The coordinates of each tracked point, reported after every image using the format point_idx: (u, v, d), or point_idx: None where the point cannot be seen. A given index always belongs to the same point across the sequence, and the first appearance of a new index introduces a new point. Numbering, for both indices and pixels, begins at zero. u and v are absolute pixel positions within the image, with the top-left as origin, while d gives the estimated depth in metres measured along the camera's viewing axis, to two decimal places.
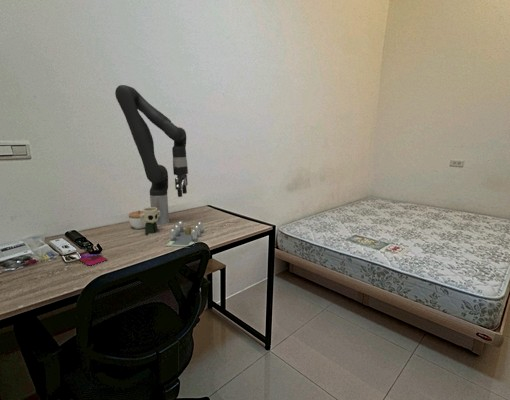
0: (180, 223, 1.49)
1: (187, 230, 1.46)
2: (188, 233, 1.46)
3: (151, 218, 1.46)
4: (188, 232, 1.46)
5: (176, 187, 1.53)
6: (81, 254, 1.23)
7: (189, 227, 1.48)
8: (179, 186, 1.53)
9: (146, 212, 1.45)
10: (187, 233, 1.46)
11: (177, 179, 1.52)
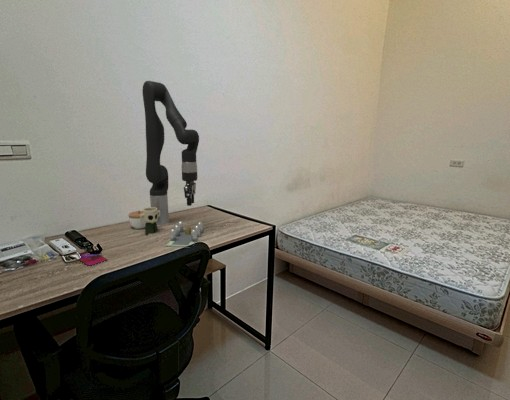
0: (180, 223, 1.49)
1: (187, 230, 1.46)
2: (188, 233, 1.46)
3: (151, 218, 1.46)
4: (188, 232, 1.46)
5: (185, 196, 1.43)
6: (81, 254, 1.23)
7: (189, 227, 1.48)
8: (189, 195, 1.43)
9: (146, 212, 1.45)
10: (187, 233, 1.46)
11: (186, 188, 1.41)
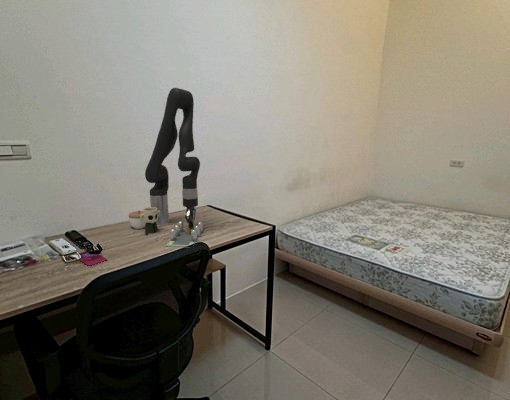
0: (180, 223, 1.49)
1: (187, 230, 1.46)
2: (188, 233, 1.46)
3: (151, 218, 1.46)
4: (188, 232, 1.46)
5: (187, 221, 1.48)
6: (81, 254, 1.23)
7: (189, 227, 1.48)
8: (190, 221, 1.47)
9: (146, 212, 1.45)
10: (187, 233, 1.46)
11: (187, 217, 1.44)
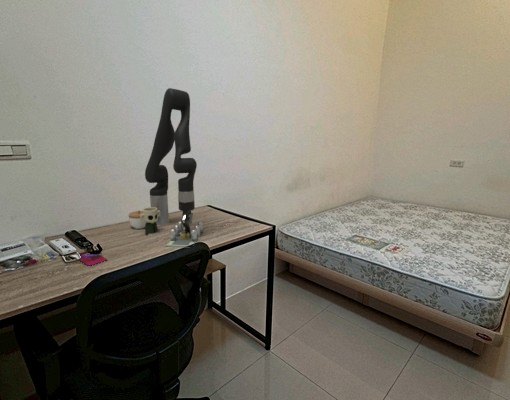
0: (180, 223, 1.49)
1: (183, 235, 1.39)
2: (184, 238, 1.39)
3: (151, 218, 1.46)
4: (184, 237, 1.39)
5: (184, 225, 1.41)
6: (81, 254, 1.23)
7: (184, 232, 1.42)
8: (187, 225, 1.40)
9: (146, 212, 1.45)
10: (183, 238, 1.39)
11: (183, 221, 1.37)
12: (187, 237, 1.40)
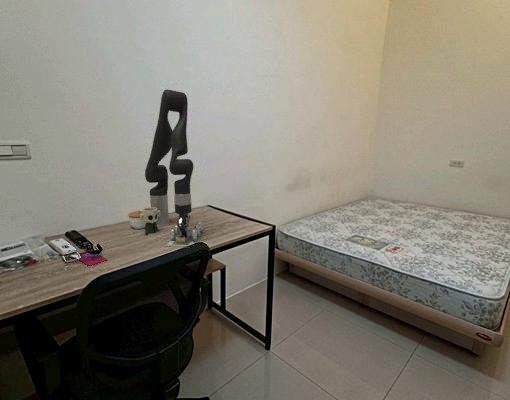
0: None
1: (179, 239, 1.34)
2: (180, 242, 1.34)
3: (151, 218, 1.46)
4: (180, 241, 1.34)
5: (180, 229, 1.36)
6: (81, 254, 1.23)
7: (180, 235, 1.37)
8: (183, 229, 1.35)
9: (146, 212, 1.45)
10: (179, 242, 1.34)
11: (180, 224, 1.32)
12: (183, 241, 1.35)
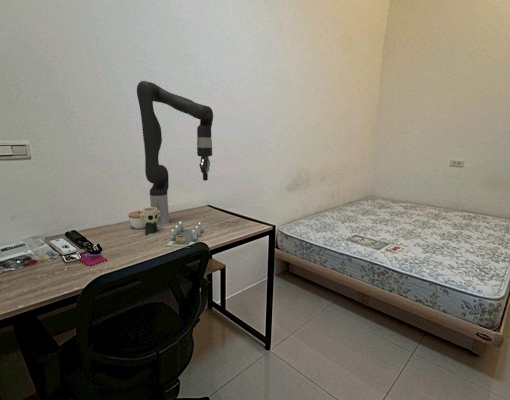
0: (180, 223, 1.49)
1: (179, 239, 1.34)
2: (180, 242, 1.34)
3: (151, 218, 1.46)
4: (180, 241, 1.34)
5: (202, 171, 1.49)
6: (81, 254, 1.23)
7: (180, 235, 1.37)
8: (205, 170, 1.48)
9: (146, 212, 1.45)
10: (179, 242, 1.34)
11: (202, 165, 1.45)
12: (183, 241, 1.35)
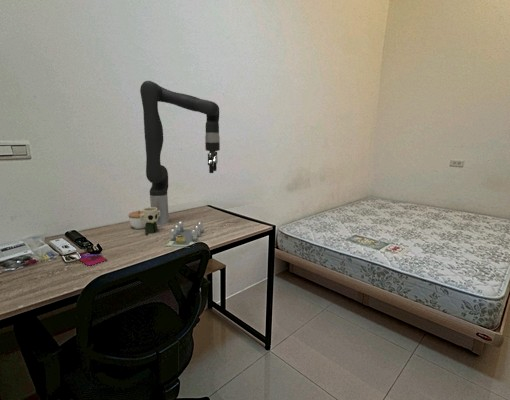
0: (180, 223, 1.49)
1: (179, 239, 1.34)
2: (180, 242, 1.34)
3: (151, 218, 1.46)
4: (180, 241, 1.34)
5: (208, 163, 1.51)
6: (81, 254, 1.23)
7: (180, 235, 1.37)
8: (212, 162, 1.51)
9: (146, 212, 1.45)
10: (179, 242, 1.34)
11: (210, 154, 1.50)
12: (183, 241, 1.35)
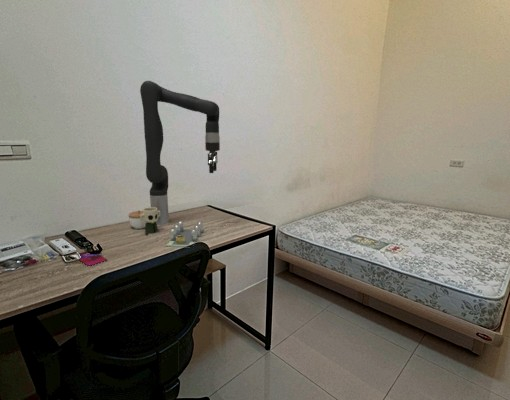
0: (180, 223, 1.49)
1: (179, 239, 1.34)
2: (180, 242, 1.34)
3: (151, 218, 1.46)
4: (180, 241, 1.34)
5: (208, 162, 1.51)
6: (81, 254, 1.23)
7: (180, 235, 1.37)
8: (212, 162, 1.51)
9: (146, 212, 1.45)
10: (179, 242, 1.34)
11: (210, 154, 1.50)
12: (183, 241, 1.35)
